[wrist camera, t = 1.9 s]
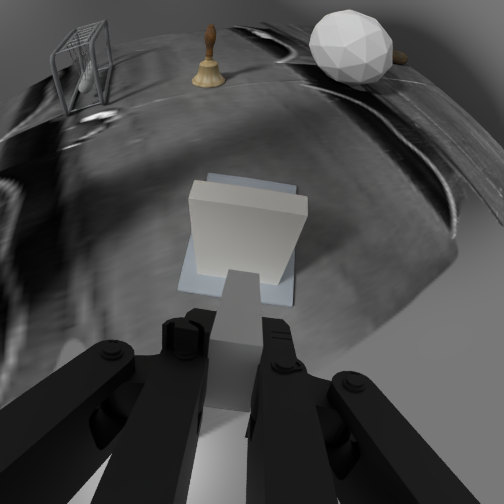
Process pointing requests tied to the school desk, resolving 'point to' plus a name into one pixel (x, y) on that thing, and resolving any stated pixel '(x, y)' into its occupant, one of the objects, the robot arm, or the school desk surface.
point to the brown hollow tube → (398, 57)
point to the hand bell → (209, 64)
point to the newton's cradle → (87, 72)
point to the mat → (215, 285)
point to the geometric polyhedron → (351, 48)
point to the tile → (244, 229)
